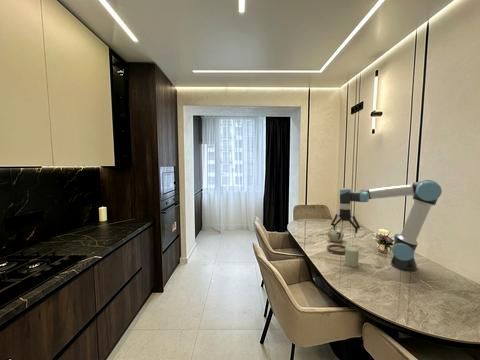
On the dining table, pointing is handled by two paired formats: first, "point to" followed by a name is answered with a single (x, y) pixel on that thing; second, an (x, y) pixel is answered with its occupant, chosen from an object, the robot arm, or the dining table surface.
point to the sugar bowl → (334, 237)
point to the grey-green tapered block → (351, 256)
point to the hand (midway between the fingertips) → (345, 235)
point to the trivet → (336, 249)
